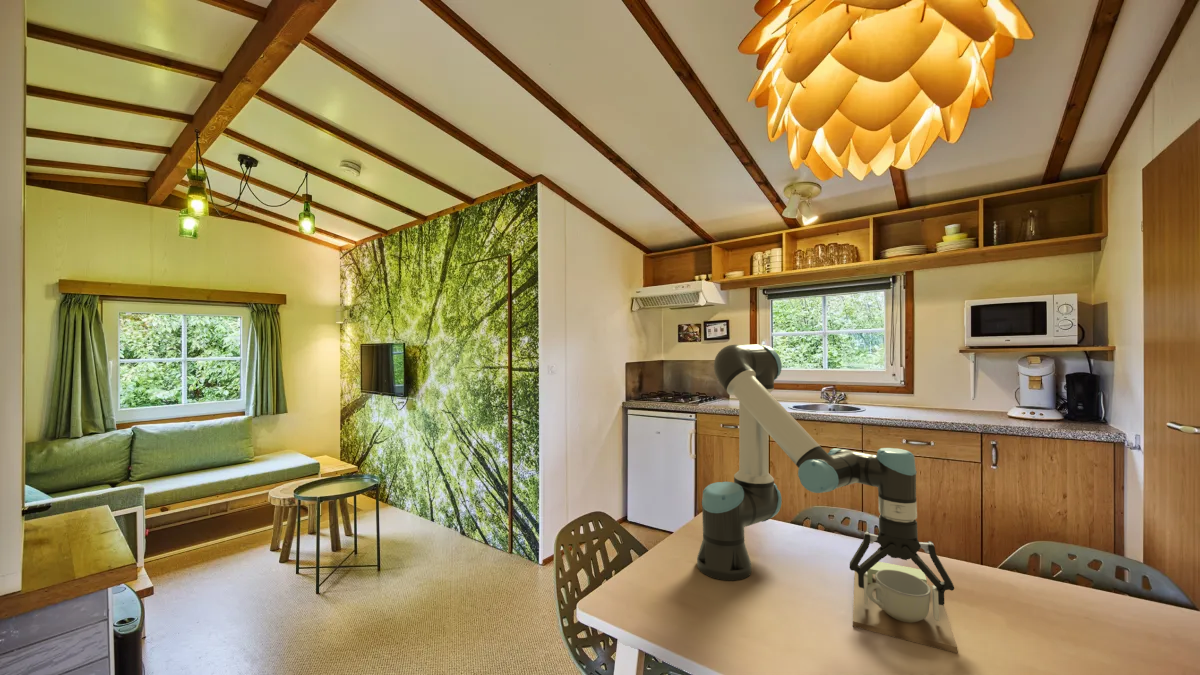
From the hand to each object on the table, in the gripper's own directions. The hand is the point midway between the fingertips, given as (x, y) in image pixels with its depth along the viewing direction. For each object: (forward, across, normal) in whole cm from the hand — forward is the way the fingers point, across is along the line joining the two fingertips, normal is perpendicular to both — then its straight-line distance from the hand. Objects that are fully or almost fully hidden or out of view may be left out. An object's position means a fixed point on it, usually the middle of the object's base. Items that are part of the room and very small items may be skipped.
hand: (900, 609), depth 106 cm
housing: (+1, 0, +17) cm, 17 cm away
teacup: (+2, -1, 0) cm, 2 cm away
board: (+3, 0, +6) cm, 7 cm away
